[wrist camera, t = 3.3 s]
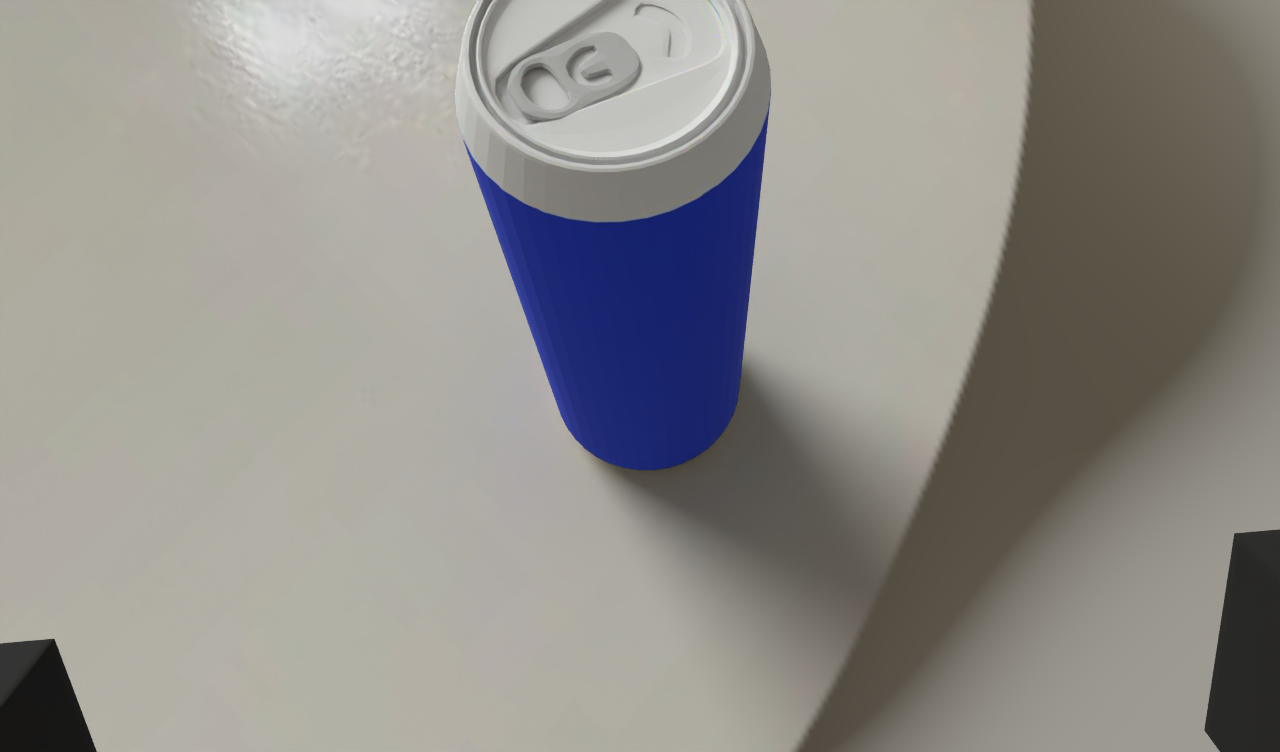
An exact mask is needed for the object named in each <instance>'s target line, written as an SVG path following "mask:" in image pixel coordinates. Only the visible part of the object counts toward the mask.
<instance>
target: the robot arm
mask: <svg viewBox="0 0 1280 752" xmlns="http://www.w3.org/2000/svg"><path fill="white" fill-rule="evenodd" d="M1205 732H1206V733H1207V734H1208V736H1209V737H1210V739H1211V740H1212V741H1213V743H1214V744H1215V745H1216V747H1217V748H1218V749H1219V751H1220V752H1280V530H1269V531H1258V532H1247V533H1235V534H1234V540H1233V547H1232V553H1231V560H1230V566H1229V572H1228V579H1227V586H1226V593H1225V599H1224V606H1223V612H1222V618H1221V625H1220V632H1219V639H1218V645H1217V651H1216V658H1215V664H1214V671H1213V678H1212V684H1211V691H1210V698H1209V704H1208V710H1207V717H1206V723H1205ZM0 752H97V751H96V749H95V746H94V743H93V741H92V738H91V735H90V733H89V730H88V727H87V725H86V722H85V719H84V717H83V714H82V711H81V709H80V706H79V703H78V701H77V698H76V695H75V693H74V690H73V687H72V685H71V682H70V679H69V677H68V674H67V671H66V669H65V666H64V663H63V661H62V658H61V655H60V653H59V650H58V647H57V645H56V642H55V639H46V640H35V641H24V642H13V643H2V644H0Z"/></svg>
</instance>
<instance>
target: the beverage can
mask: <svg viewBox="0 0 1280 752" xmlns="http://www.w3.org/2000/svg"><path fill="white" fill-rule="evenodd" d="M770 96H771V78H770V67H769V63H768V59H767V55H766V50H765V48H764V45H763V43H762V40H761V38H760V36H759V33H758V31H757V28H756V26H755V24H754V21H753V19H752V16H751V14H750V12H749V10H748V8H747V5H746V3H745V1H744V0H477V1H476V3H475V5H474V8H473V10H472V12H471V14H470V16H469V18H468V21H467V24H466V28H465V31H464V35H463V39H462V44H461V52H460V58H459V65H458V71H457V77H456V88H455V106H456V116H457V121H458V124H459V127H460V131H461V134H462V138H463V140H464V143H465V146H466V149H467V152H468V155H469V157H470V160H471V163H472V166H473V169H474V171H475V174H476V177H477V180H478V183H479V186H480V188H481V191H482V194H483V197H484V200H485V203H486V205H487V208H488V211H489V214H490V217H491V219H492V222H493V225H494V228H495V231H496V234H497V236H498V239H499V242H500V245H501V248H502V250H503V253H504V256H505V259H506V262H507V265H508V267H509V270H510V273H511V276H512V279H513V281H514V284H515V287H516V290H517V293H518V296H519V298H520V301H521V304H522V307H523V310H524V312H525V315H526V318H527V321H528V324H529V327H530V329H531V332H532V335H533V338H534V341H535V343H536V346H537V349H538V352H539V355H540V358H541V360H542V363H543V366H544V369H545V372H546V374H547V377H548V380H549V383H550V386H551V389H552V391H553V394H554V397H555V400H556V403H557V405H558V408H559V411H560V414H561V416H562V418H563V420H564V422H565V424H566V426H567V428H568V430H569V431H570V432H571V434H572V435H573V436H574V438H575V439H576V440H577V441H578V442H579V443H580V444H581V445H582V446H583V447H584V448H585V449H586V450H588V451H589V452H591V453H592V454H593V455H595V456H596V457H598V458H600V459H602V460H604V461H606V462H608V463H610V464H613V465H616V466H620V467H623V468H628V469H635V470H658V469H664V468H669V467H673V466H676V465H679V464H682V463H684V462H686V461H688V460H690V459H692V458H694V457H696V456H698V455H699V454H701V453H702V452H703V451H705V450H706V449H708V448H709V447H710V446H711V445H712V444H713V443H714V442H715V441H716V440H717V439H718V438H719V437H720V435H721V434H722V433H723V431H724V430H725V429H726V427H727V426H728V424H729V422H730V420H731V418H732V416H733V414H734V411H735V407H736V404H737V401H738V394H739V387H740V378H741V368H742V359H743V350H744V340H745V331H746V321H747V312H748V303H749V293H750V284H751V275H752V265H753V256H754V246H755V237H756V228H757V218H758V209H759V200H760V190H761V181H762V171H763V162H764V153H765V143H766V134H767V125H768V115H769V106H770Z"/></svg>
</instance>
